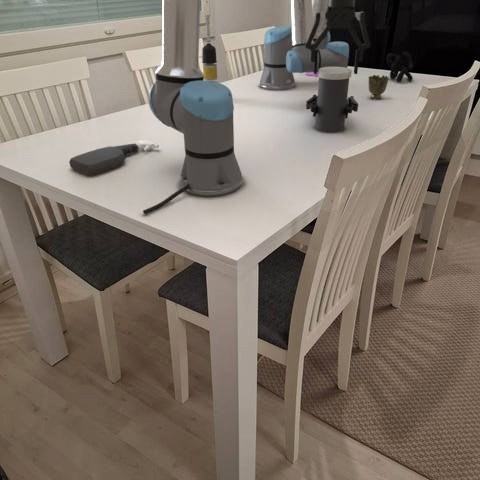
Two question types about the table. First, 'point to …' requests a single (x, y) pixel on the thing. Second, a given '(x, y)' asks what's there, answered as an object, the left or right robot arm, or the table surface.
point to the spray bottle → (106, 157)
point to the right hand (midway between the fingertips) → (330, 113)
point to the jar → (331, 105)
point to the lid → (334, 73)
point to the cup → (377, 85)
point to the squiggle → (399, 66)
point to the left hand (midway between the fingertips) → (335, 73)
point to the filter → (209, 57)
